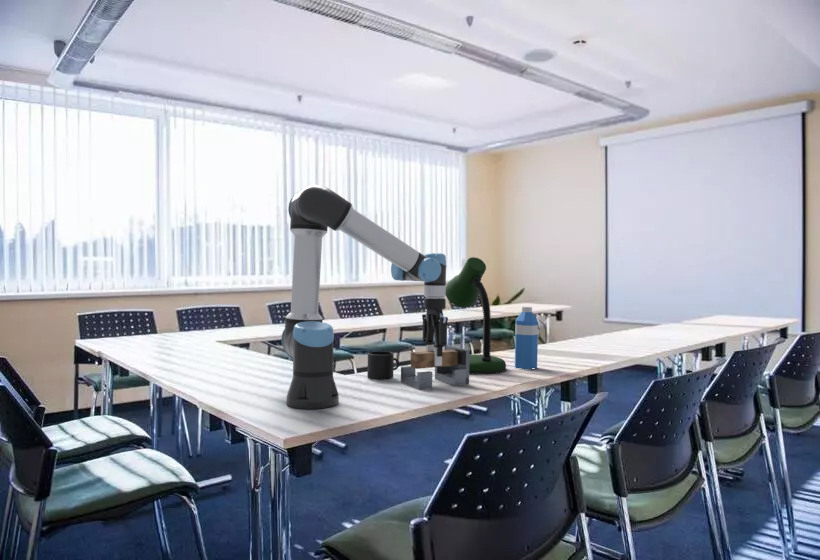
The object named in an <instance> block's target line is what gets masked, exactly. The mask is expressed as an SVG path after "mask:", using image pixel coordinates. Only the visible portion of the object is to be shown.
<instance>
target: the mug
mask: <svg viewBox="0 0 820 560" xmlns="http://www.w3.org/2000/svg"><path fill="white" fill-rule="evenodd" d="M394 362H396V365H395V367H394ZM399 367H400V361H399V360H398V359H397V358H396V357H394V352H392V351H385V350H384V351H382V350H381V351H380V350H379V351H378V350H377V351H370V352H368V353H367V371H366V372H367V379H369V380H372V381H373V380H374V381H387V380H388V381H389V380H391V379H394V371H396V370H398V368H399Z"/></svg>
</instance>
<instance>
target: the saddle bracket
mask: <svg viewBox="0 0 820 560" xmlns="http://www.w3.org/2000/svg"><path fill="white" fill-rule="evenodd" d="M400 383H401V384H403V385H405V386H409V387H411V388H413V389H416V390H419V391H420V390H421V391H422V390H428V389H431V390H432V389H433V371H428V370H427V371H418V372H416V368H413V367H411V365H408V366H401V367H400Z"/></svg>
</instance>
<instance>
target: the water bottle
mask: <svg viewBox="0 0 820 560" xmlns="http://www.w3.org/2000/svg"><path fill="white" fill-rule="evenodd" d="M514 334H515V336H514V337H515V338H514V339H515V341H514V342H515V343H514V368H515V367H516V368H522V369H532V368H537V369H538V349H539V348H538V338H539V337H538V336H539V320H538V319H537V317H536V315H534V313H533V307H532V306H522V307H521V312H520V313H519V315H518V316H517V318H515V333H514ZM516 368H515V369H516ZM522 369H521V370H522Z"/></svg>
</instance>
